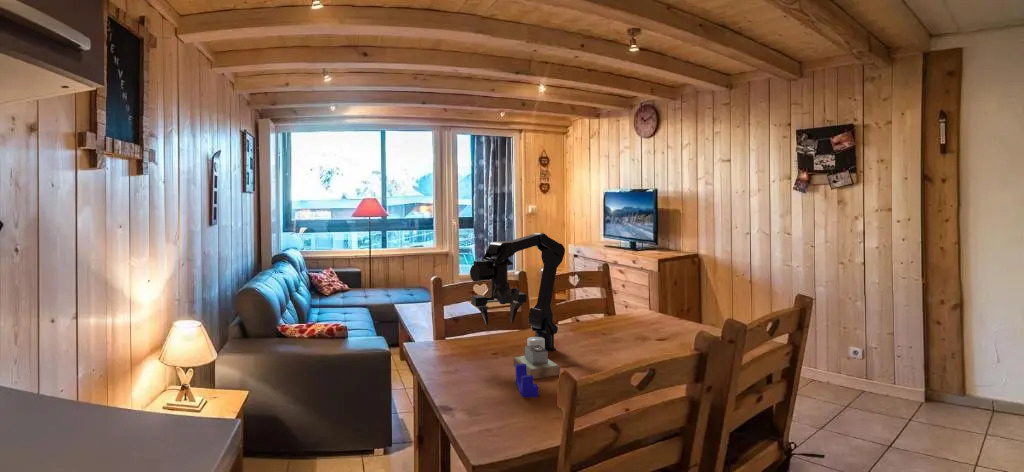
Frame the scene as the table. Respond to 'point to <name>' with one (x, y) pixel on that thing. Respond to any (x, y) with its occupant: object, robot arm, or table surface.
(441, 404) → the table surface
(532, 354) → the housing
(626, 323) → the table surface
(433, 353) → the table surface
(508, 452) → the table surface
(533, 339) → the light grey rounded cylinder
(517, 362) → the stand
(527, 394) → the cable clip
